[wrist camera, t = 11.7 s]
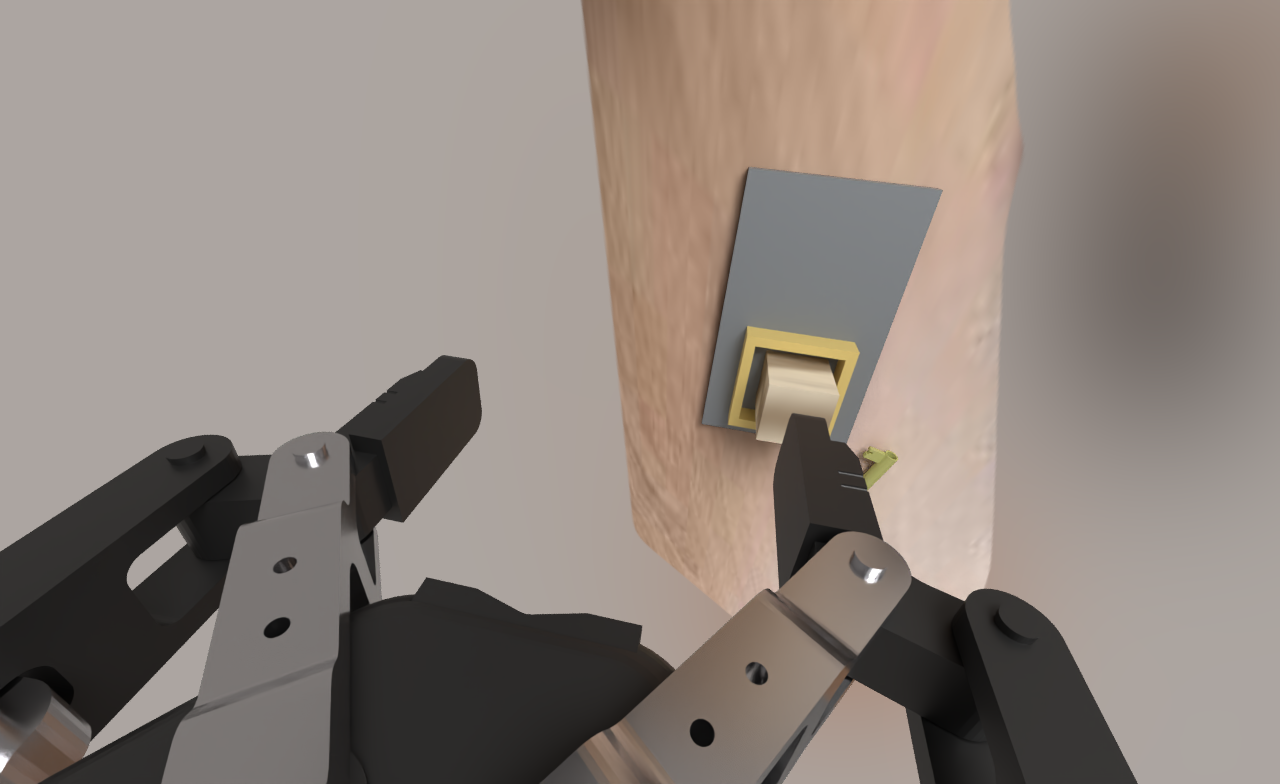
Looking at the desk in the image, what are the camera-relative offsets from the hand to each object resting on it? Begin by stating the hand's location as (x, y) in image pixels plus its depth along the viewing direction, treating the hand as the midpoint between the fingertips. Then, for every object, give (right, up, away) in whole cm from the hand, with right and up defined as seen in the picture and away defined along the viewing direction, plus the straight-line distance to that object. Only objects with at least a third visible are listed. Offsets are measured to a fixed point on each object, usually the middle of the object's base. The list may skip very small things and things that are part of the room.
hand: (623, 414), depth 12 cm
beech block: (+13, +2, +30) cm, 33 cm away
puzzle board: (+14, +6, +28) cm, 32 cm away
